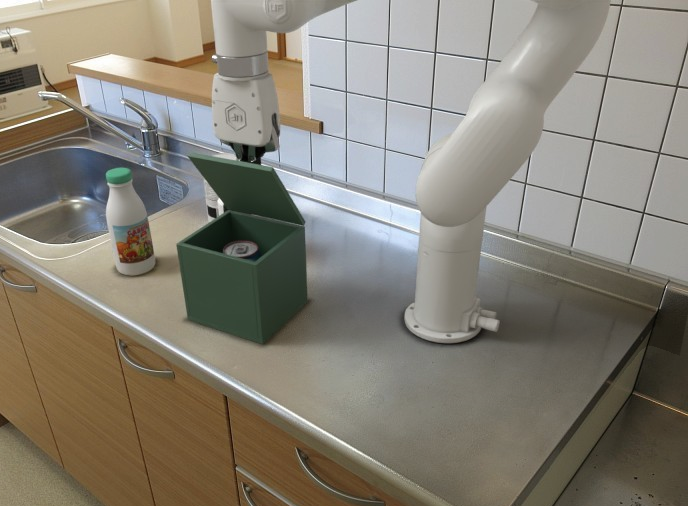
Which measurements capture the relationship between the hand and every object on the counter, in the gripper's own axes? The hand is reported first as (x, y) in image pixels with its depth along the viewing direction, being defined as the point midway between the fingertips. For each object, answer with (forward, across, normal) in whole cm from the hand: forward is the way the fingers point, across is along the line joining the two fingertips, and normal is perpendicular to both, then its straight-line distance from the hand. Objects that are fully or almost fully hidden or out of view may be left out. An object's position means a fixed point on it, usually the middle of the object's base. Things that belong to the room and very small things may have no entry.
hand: (252, 181), depth 108 cm
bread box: (+22, 0, -4) cm, 23 cm away
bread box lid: (+1, 0, -2) cm, 2 cm away
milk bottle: (+23, -29, -2) cm, 37 cm away
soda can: (+22, 0, -5) cm, 22 cm away
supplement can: (+23, -24, +23) cm, 40 cm away
